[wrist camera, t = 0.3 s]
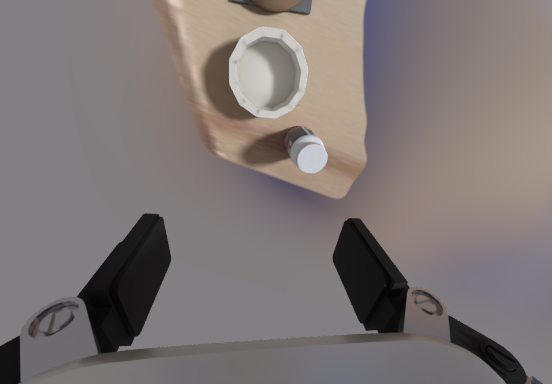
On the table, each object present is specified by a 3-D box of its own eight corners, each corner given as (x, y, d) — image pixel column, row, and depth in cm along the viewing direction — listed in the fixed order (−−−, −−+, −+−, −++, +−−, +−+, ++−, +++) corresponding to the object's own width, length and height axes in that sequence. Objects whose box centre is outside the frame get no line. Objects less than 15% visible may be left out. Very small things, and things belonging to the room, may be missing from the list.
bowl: (232, 28, 30) (228, 21, 25) (305, 39, 31) (314, 34, 27) (232, 109, 35) (229, 114, 31) (294, 115, 37) (300, 120, 32)
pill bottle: (283, 154, 40) (291, 177, 32) (284, 125, 37) (294, 140, 29) (311, 154, 41) (327, 175, 32) (314, 125, 38) (333, 140, 29)
